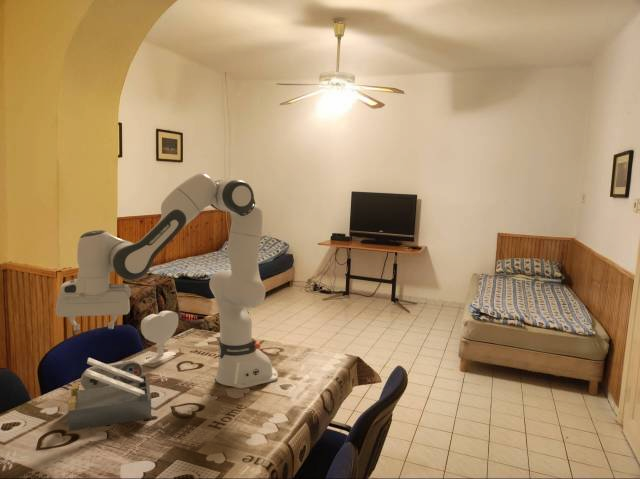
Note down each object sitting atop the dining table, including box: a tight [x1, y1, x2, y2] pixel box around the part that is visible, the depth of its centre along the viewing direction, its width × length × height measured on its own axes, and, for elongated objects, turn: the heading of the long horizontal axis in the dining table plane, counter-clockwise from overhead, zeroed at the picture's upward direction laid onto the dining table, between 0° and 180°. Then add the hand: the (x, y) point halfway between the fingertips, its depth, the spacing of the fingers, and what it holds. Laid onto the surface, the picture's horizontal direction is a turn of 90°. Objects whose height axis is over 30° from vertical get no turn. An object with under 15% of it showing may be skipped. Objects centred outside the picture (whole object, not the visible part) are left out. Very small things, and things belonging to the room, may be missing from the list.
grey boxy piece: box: [67, 374, 152, 432], centre depth 144 cm, size 22×15×8 cm
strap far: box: [86, 357, 144, 383], centre depth 148 cm, size 18×3×1 cm, turn 114°
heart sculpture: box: [140, 310, 180, 364], centre depth 189 cm, size 16×5×18 cm, turn 148°
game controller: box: [80, 359, 144, 390], centre depth 162 cm, size 20×2×8 cm, turn 124°
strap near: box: [84, 368, 145, 396], centre depth 140 cm, size 18×3×1 cm, turn 114°
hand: (93, 329), depth 144 cm, fingers open, 8 cm apart
